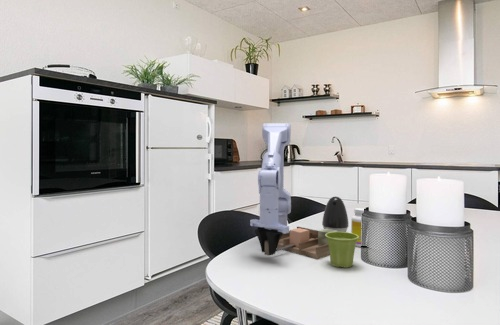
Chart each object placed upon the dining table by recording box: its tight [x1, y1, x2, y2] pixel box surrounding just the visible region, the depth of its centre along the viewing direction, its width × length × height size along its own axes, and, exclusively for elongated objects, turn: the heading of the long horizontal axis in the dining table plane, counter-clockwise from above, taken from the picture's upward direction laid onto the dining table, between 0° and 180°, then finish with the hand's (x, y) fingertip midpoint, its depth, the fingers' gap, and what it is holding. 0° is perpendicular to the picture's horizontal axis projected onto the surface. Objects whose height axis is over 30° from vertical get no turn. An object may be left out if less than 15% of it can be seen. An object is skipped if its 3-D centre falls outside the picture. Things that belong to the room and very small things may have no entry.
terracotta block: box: [263, 227, 309, 256], centre depth 112 cm, size 4×19×5 cm, turn 134°
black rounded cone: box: [321, 196, 349, 232], centre depth 139 cm, size 10×10×15 cm
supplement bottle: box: [350, 207, 365, 248], centre depth 123 cm, size 7×7×13 cm
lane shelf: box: [277, 226, 338, 260], centre depth 120 cm, size 20×16×6 cm
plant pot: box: [325, 231, 359, 269], centre depth 102 cm, size 9×9×9 cm
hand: (268, 252), depth 107 cm, fingers closed on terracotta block, 3 cm apart
